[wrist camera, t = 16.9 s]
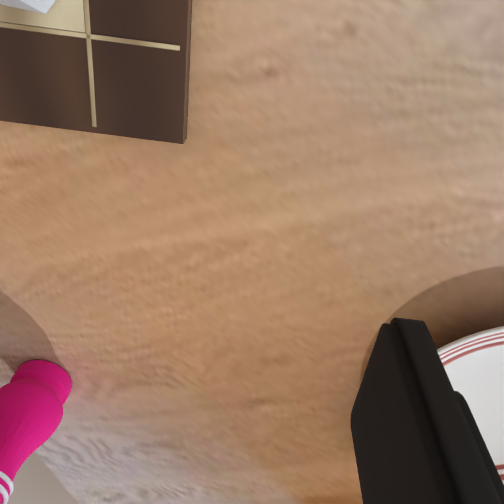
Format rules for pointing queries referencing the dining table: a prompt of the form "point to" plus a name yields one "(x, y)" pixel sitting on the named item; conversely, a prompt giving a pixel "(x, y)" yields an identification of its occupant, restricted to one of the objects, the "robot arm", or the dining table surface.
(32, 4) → the flask
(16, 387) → the pepper mill
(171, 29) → the board
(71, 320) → the dining table surface
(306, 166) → the dining table surface
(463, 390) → the dinner plate
